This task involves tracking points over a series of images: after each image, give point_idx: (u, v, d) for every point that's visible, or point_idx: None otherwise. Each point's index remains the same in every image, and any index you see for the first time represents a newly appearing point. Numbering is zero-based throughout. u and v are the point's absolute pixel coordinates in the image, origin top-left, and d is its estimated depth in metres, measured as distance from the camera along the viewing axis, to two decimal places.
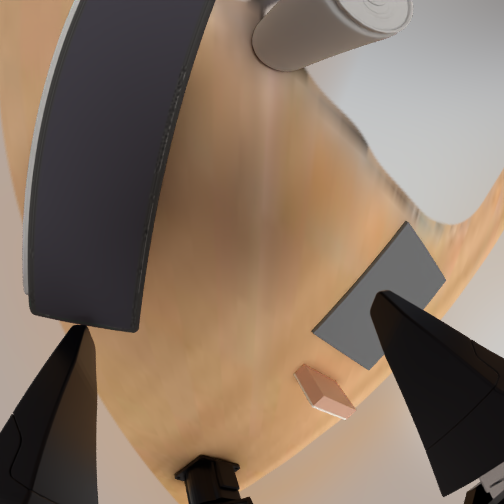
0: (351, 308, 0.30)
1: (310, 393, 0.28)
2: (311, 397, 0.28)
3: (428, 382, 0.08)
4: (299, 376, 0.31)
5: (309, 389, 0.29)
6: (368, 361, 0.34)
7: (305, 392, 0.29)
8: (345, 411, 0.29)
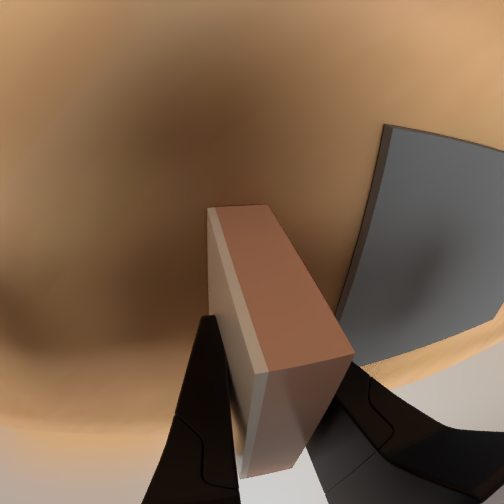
0: (467, 184, 0.09)
1: (266, 302, 0.05)
2: (266, 322, 0.05)
3: None
4: (230, 223, 0.08)
5: (265, 283, 0.06)
6: None
7: (239, 285, 0.06)
8: (277, 460, 0.07)
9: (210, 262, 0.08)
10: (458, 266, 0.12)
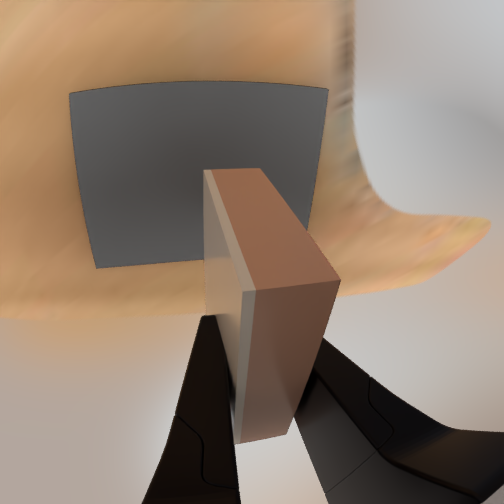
0: (146, 112, 0.15)
1: (255, 237, 0.06)
2: (255, 252, 0.05)
3: (315, 421, 0.07)
4: (225, 181, 0.08)
5: (255, 224, 0.06)
6: (104, 249, 0.18)
7: (230, 225, 0.06)
8: (271, 420, 0.07)
9: (205, 221, 0.09)
10: (179, 178, 0.17)
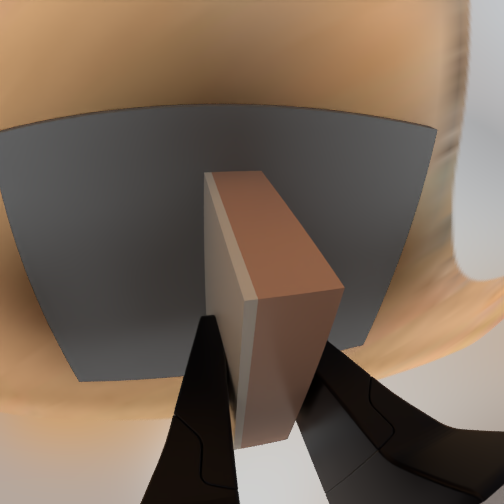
0: (129, 166, 0.08)
1: (257, 243, 0.06)
2: (257, 259, 0.05)
3: (316, 421, 0.07)
4: (226, 184, 0.08)
5: (257, 229, 0.06)
6: (86, 364, 0.12)
7: (232, 230, 0.06)
8: (272, 425, 0.07)
9: (206, 224, 0.09)
10: (195, 276, 0.10)
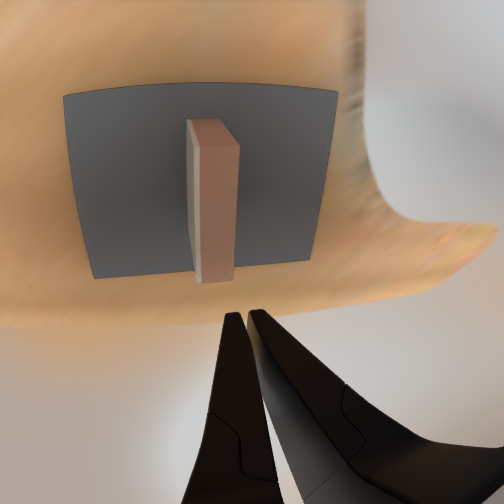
0: (145, 115, 0.14)
1: (205, 136, 0.12)
2: (203, 139, 0.11)
3: (290, 427, 0.07)
4: (197, 122, 0.14)
5: (207, 133, 0.12)
6: (102, 260, 0.18)
7: (195, 133, 0.12)
8: (219, 256, 0.13)
9: (186, 147, 0.15)
10: (180, 185, 0.16)
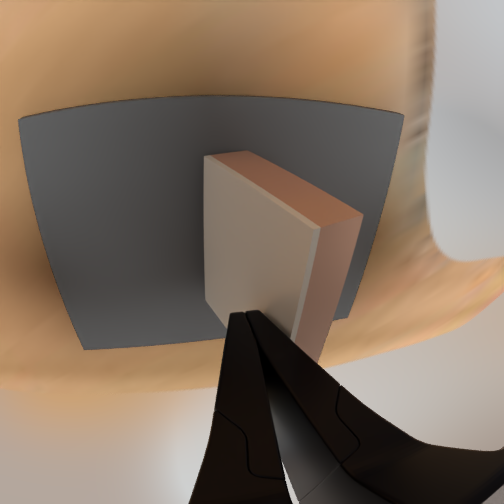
0: (138, 146, 0.09)
1: (291, 197, 0.08)
2: (300, 206, 0.07)
3: (285, 428, 0.07)
4: (230, 162, 0.09)
5: (283, 188, 0.08)
6: (92, 330, 0.13)
7: (266, 191, 0.08)
8: (308, 355, 0.09)
9: (212, 200, 0.10)
10: (191, 243, 0.12)
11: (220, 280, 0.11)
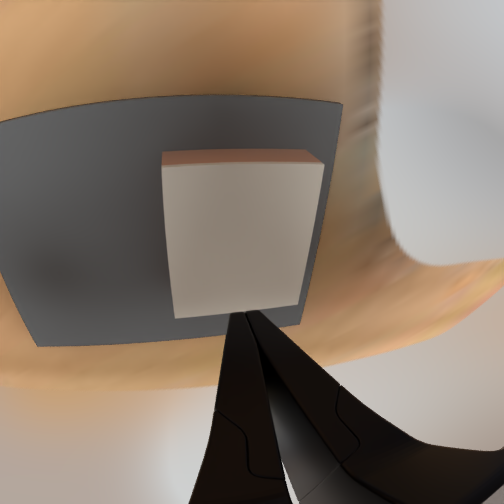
0: (58, 153, 0.09)
1: (277, 158, 0.10)
2: (292, 159, 0.10)
3: (285, 429, 0.07)
4: (190, 161, 0.09)
5: (262, 156, 0.10)
6: (41, 328, 0.13)
7: (265, 161, 0.10)
8: None
9: (185, 205, 0.10)
10: (118, 246, 0.11)
11: (206, 275, 0.11)
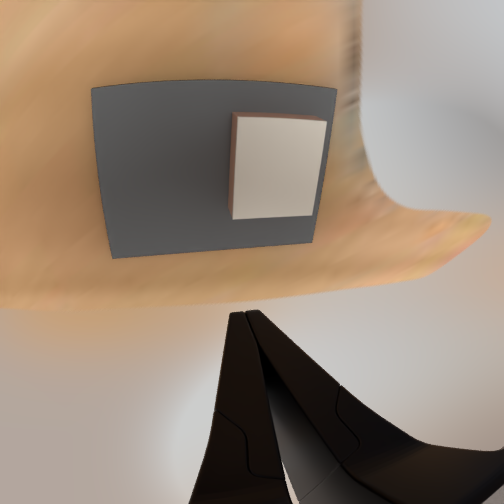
0: (166, 107, 0.16)
1: (300, 117, 0.17)
2: (308, 118, 0.17)
3: (285, 429, 0.07)
4: (252, 115, 0.16)
5: (291, 116, 0.17)
6: (121, 240, 0.19)
7: (294, 118, 0.16)
8: None
9: (249, 140, 0.16)
10: (196, 171, 0.18)
11: (256, 187, 0.18)
